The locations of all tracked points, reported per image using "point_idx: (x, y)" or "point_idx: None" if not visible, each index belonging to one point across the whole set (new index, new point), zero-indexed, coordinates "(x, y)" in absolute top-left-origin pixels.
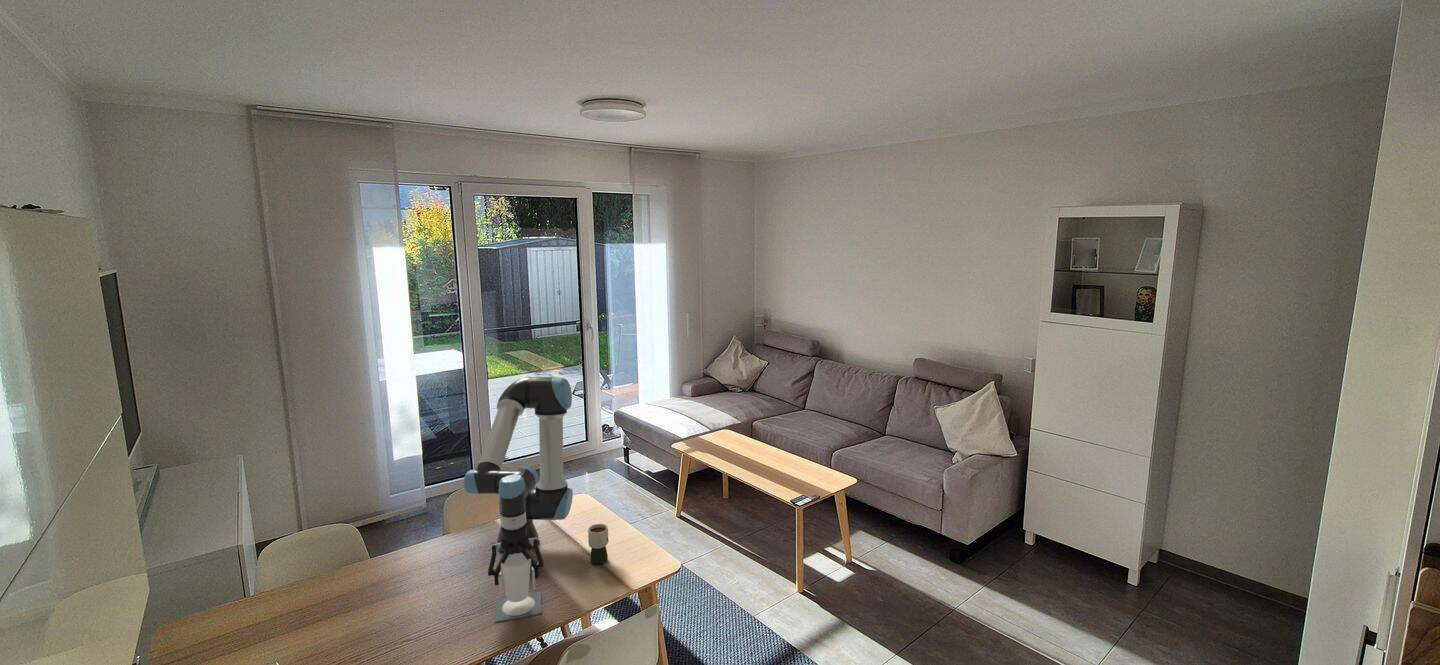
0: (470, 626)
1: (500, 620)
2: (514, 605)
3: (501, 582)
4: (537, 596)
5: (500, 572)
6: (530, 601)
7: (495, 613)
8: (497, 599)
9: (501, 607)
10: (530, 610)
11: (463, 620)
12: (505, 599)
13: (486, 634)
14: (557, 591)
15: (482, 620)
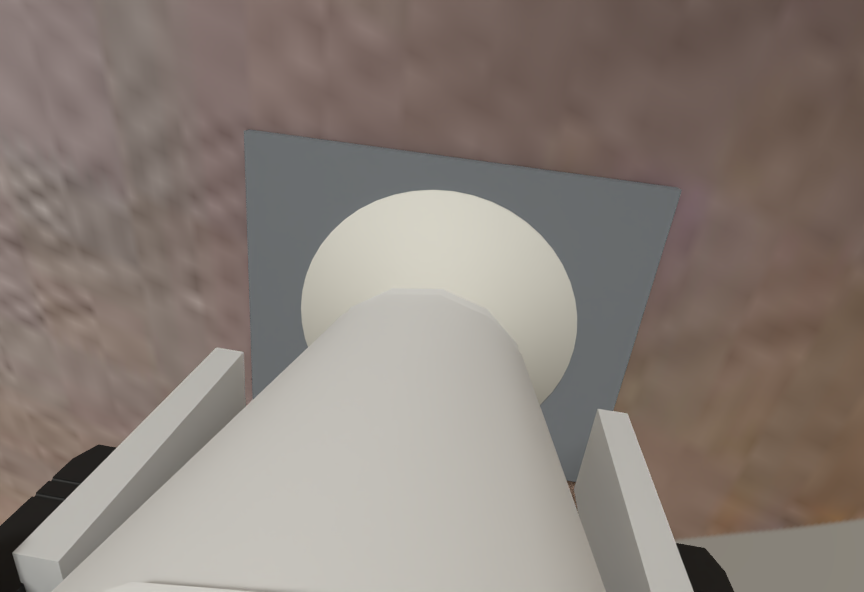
0: (100, 385)
1: None
2: None
3: (176, 467)
4: (623, 268)
5: (52, 573)
6: (542, 318)
7: (253, 342)
8: (259, 149)
9: (297, 286)
10: None
11: (34, 299)
12: (332, 181)
13: None
14: (835, 249)
15: (171, 359)
